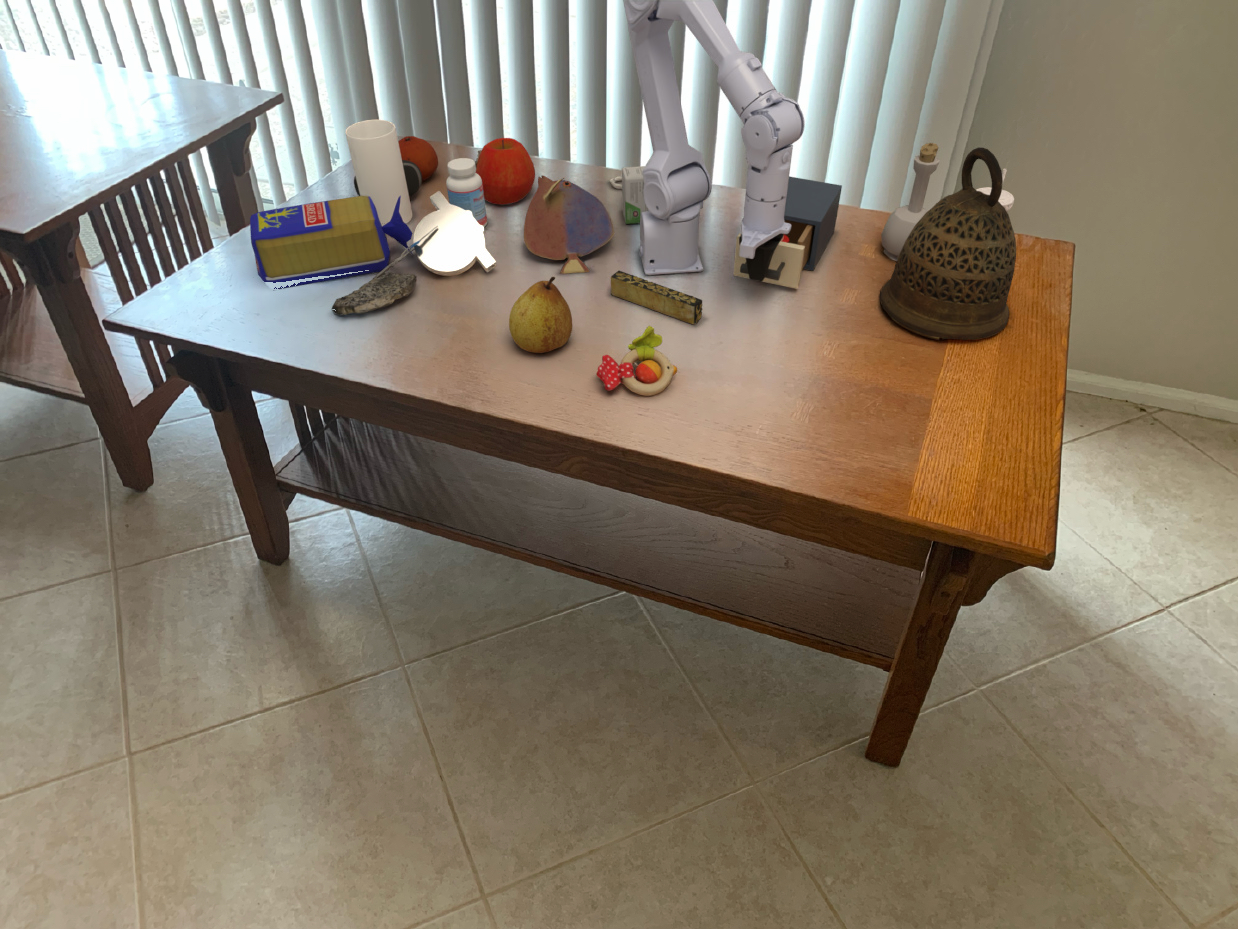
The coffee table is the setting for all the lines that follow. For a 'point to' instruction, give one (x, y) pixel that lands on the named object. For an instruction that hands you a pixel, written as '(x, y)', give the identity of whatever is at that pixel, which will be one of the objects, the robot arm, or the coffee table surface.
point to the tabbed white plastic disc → (451, 240)
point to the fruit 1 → (419, 154)
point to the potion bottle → (910, 204)
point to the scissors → (400, 257)
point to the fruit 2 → (540, 318)
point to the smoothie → (1005, 197)
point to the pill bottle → (466, 188)
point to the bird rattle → (639, 367)
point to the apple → (505, 171)
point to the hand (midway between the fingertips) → (757, 278)
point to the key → (619, 178)
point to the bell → (956, 264)
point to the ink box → (633, 194)
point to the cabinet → (813, 211)
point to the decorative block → (656, 297)
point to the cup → (379, 167)
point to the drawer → (783, 257)
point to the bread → (324, 240)
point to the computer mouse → (406, 177)
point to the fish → (566, 223)
